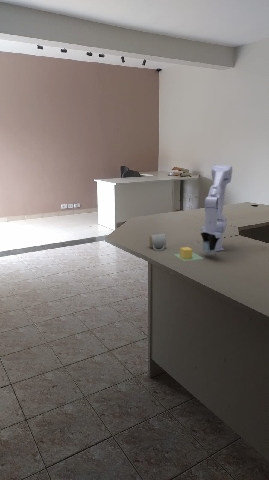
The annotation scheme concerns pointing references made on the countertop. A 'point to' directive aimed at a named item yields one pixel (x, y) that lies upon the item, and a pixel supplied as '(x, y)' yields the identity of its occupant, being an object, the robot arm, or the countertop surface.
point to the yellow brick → (186, 253)
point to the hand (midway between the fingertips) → (209, 248)
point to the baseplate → (194, 257)
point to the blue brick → (207, 247)
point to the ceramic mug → (157, 242)
